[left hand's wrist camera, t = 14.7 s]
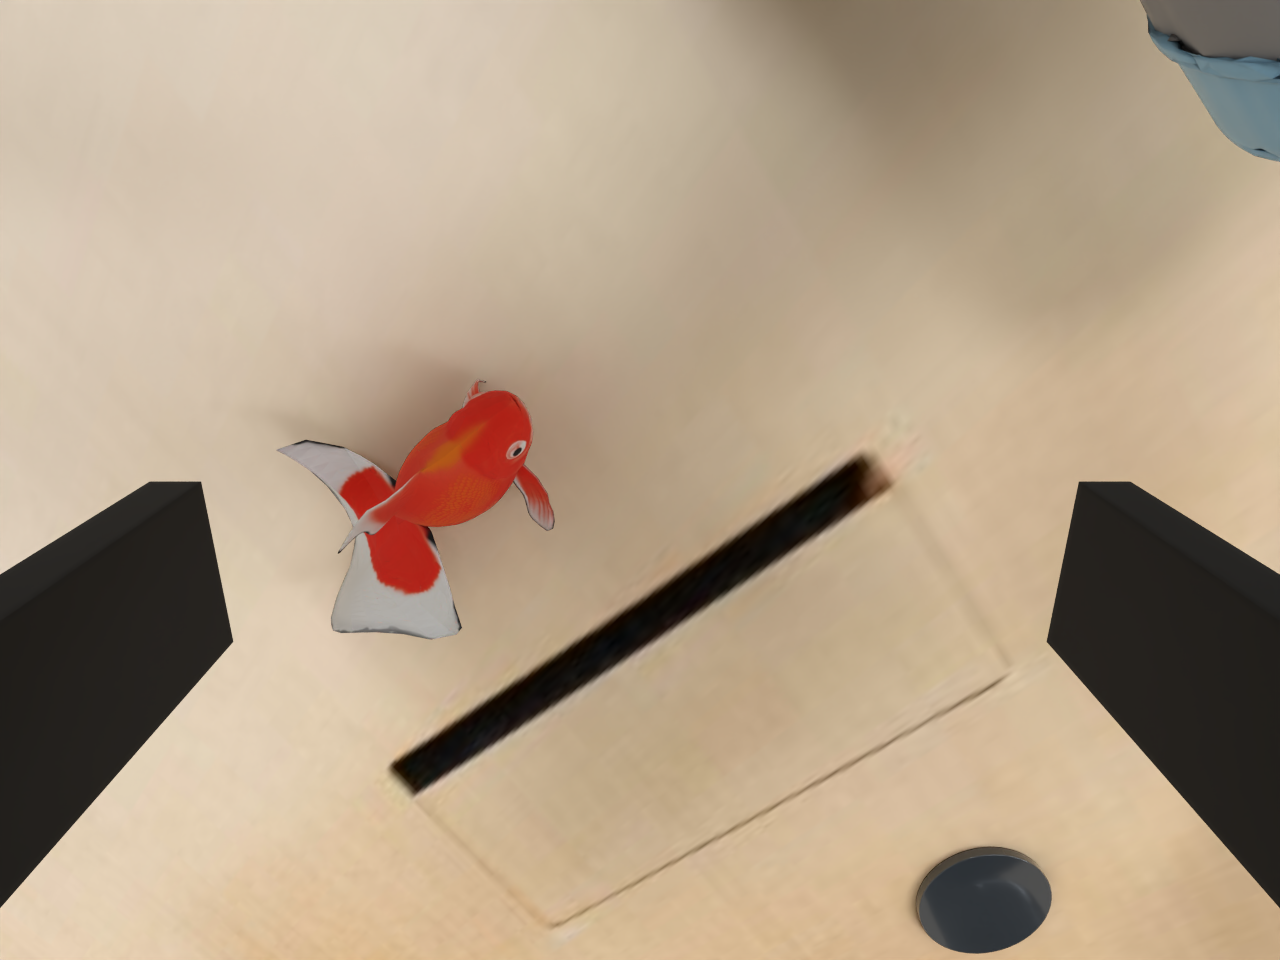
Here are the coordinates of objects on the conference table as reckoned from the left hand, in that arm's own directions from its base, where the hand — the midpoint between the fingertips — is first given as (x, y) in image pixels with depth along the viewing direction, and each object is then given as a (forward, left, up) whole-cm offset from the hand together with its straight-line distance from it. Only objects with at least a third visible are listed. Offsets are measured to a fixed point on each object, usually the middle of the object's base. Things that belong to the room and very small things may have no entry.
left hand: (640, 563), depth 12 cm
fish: (+9, -10, -27) cm, 30 cm away
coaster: (+36, +21, -27) cm, 49 cm away
